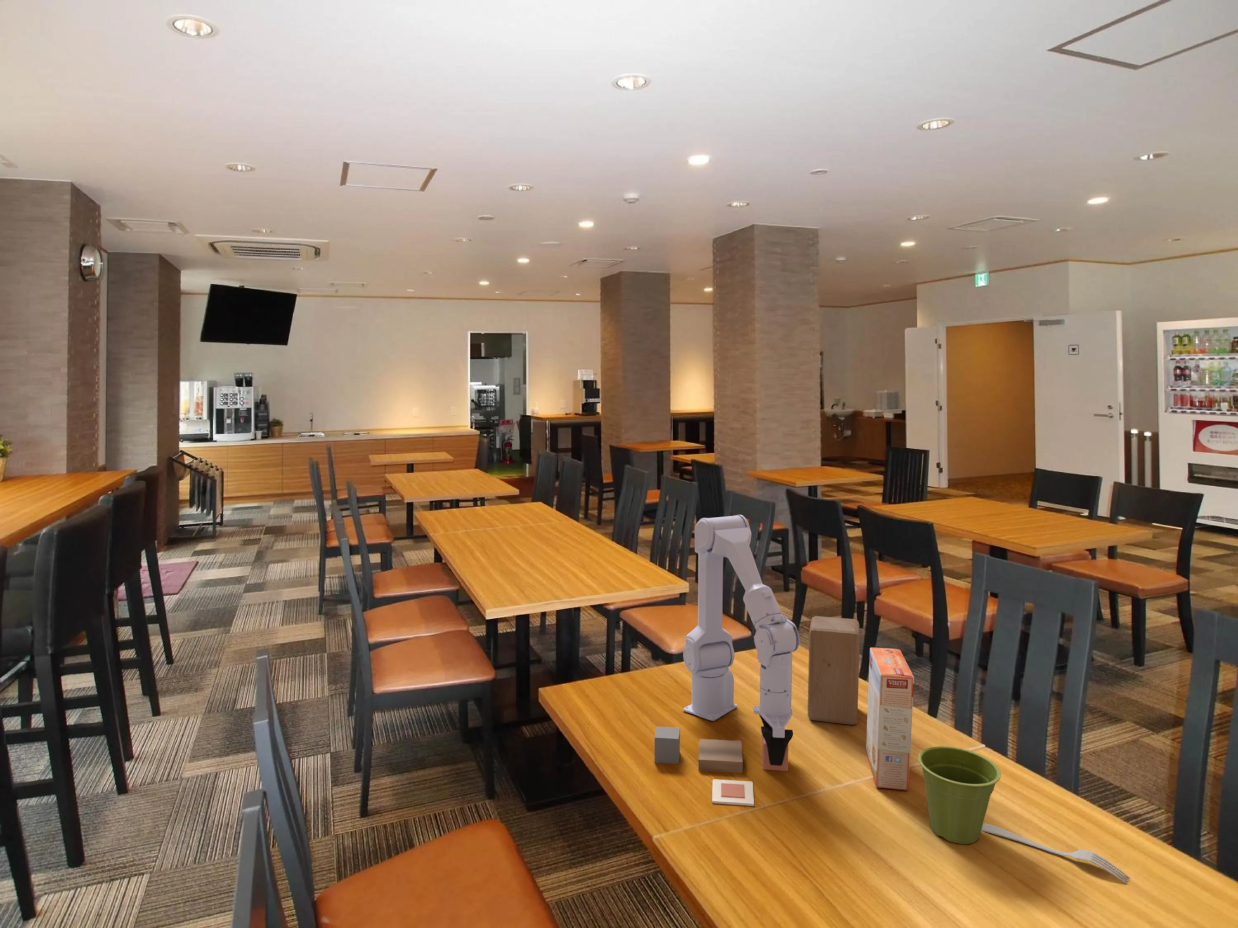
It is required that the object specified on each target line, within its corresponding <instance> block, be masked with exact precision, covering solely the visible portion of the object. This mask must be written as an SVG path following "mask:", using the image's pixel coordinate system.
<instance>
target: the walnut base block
mask: <svg viewBox="0 0 1238 928" xmlns="http://www.w3.org/2000/svg"><path fill="white" fill-rule="evenodd" d="M742 743H743V741H741V740H727V739H726V740H725V739H711V738H709V739H707V738H699V743H698V744H699V747H698V767H697V768H698V771H705V772H706V771H707V772H722V773H723V772H724V773H725V772H726V773H738V774H739V773H740V774H743V771H744V770H743V769H744V767H743V763H744V761H743V760H744V759H743V746H742V745H743V744H742Z"/></svg>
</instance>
